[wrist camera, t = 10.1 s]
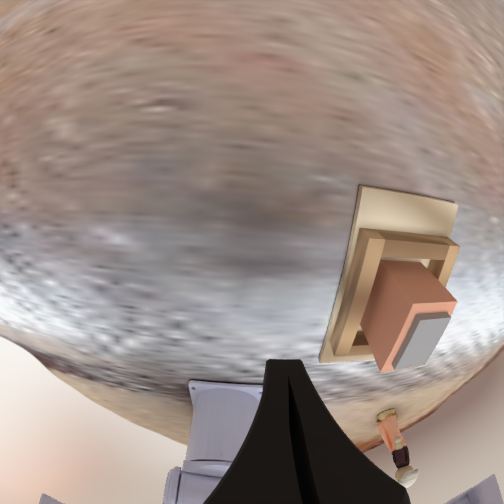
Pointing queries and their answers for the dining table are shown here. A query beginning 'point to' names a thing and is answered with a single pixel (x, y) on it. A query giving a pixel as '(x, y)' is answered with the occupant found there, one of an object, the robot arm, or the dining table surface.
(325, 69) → the dining table surface
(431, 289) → the salmon block
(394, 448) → the grandmother figurine
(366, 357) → the frame
